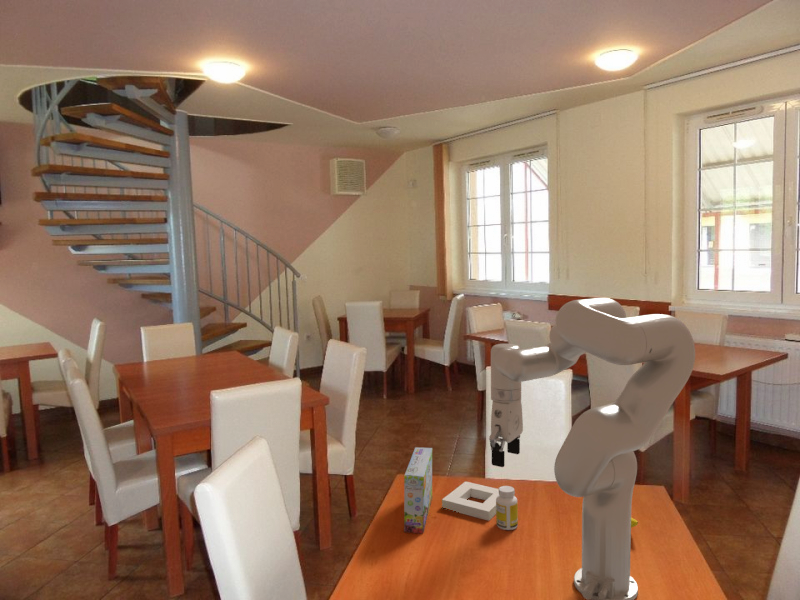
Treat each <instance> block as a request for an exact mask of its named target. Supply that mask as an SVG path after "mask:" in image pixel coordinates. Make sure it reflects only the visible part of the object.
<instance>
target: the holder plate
mask: <svg viewBox="0 0 800 600" xmlns="http://www.w3.org/2000/svg"><path fill="white" fill-rule="evenodd" d="M498 495H499V488H496V487H491V486H486V485H482V484H479V483H474V482H470V481H464V482H463V483H461V484H460V485H459V486H457V487H455V489H454V490H453V491H451V492H450V493H448V494H447V495H446V496H444V497H443V498H442V499H441V508H442V507H443V508H447V509H450V510H453V511H452V512H454V511H456V512H455V513H458V512H459V514H463V515H465V516H466V515H467V516H469V517H473V518H477V519H481V520H485V521H490V520H491V519H493V518H494V517H495V516H496V498H497V496H498ZM471 497H472V498H475V499H479V500H483V501H484V502H483V503H482V502H478V501H475V500H470V498H471ZM468 498H469V499H468ZM467 499H468V500H467ZM443 508H442V509H443ZM447 509H446V510H447ZM450 510H449V511H450Z"/></svg>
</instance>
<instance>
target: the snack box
mask: <svg viewBox="0 0 800 600" xmlns="http://www.w3.org/2000/svg"><path fill="white" fill-rule="evenodd" d="M403 478H404V479H403V480H404V481H403V482H404V483H403V486H404V487H403V488H404V490H403V491H404V494H403V495H404V498H403V499H404V501H403V503H404V505H403V506H404V507H403V509H404V510H403V511H404V512H403V513H404V514H403V515H404V517H403V518H404V519H403V521H404V522H403V523H404V524H403V527H404V528H403V529H404V531H403V532H404V533H411V532H413V534H424V532H425V528H426V525H427V524H426V523H427V521H426V520H428V517H429V513H430V508H431V504H432V502H431V501H433V447H414V450H413V452H412V455H411V458H410V461H409V462H408V465H407V468H406V471H405V473H404V475H403ZM427 516H428V517H427Z"/></svg>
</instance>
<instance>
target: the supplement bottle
mask: <svg viewBox="0 0 800 600" xmlns="http://www.w3.org/2000/svg"><path fill="white" fill-rule="evenodd" d="M498 489H499V495H498V496H497V498H496V515H495V516H496V517H495V518H496V519H495V521H496V526H497V528H499V529H500V530H504V531H512V530H516V529H517V527H518V526H519V523H518V522H519V519H518V518H519V516H518V512H519V511H518V498H517V497H516V495H515V494H516V492H515V488H514V487H513V486H509V485H502V486H500V487H498Z"/></svg>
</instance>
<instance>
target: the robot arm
mask: <svg viewBox="0 0 800 600" xmlns="http://www.w3.org/2000/svg"><path fill="white" fill-rule="evenodd" d="M548 335H549V336H548V338H549V343H547V344H545V345H541V346H534V347H526V348H522V349H521V347H520V346H519V345H518V344H514V343H497V344H495V345H493V346H491V349H490V400H491V401H492V405H491V415H490V417H491V418H490V435H489V437H488V439H489V444H490V451H491V465H492V466H494V467H495V466H496V467H499V468H504V467H505V450H504V448H505V444H506V443H507V444H506V447H507V450H506V451H507V453H509V454H514V455H519V454H520V453H521V452H520V449H521V448H520V445H521V443H520V441H521V439H520V438H521V435H522V433H523V431H524V424H523V422H524V421H523V420H524V419H523V406H522V405H523V404H522V383H523V382H528V381H533V380H537V379H538V380H539V379H544V378H549V377H553V376H556V375H558V374H559V373H561V372H564V371H565V370H567V369H569V368H571V367H572V366H575V364H577V362H578V360H579V358H580V356H583V355H584V354H586V353H588V354H590V355H592V356H594V357H597V358H599V359H601V360H603V361H605V362H607V363H611V364H613V365H616V366H617V365H618V366H630V365H637V364H641V363H642V365H641V366H640V367H639V368H638V370H636V372H634V373H633V374H632V376H631V377H630V378H629V379H628V381H627V382H626V384H625V387H624V388H623V390H622V391H621V393H620V395H619V396H618V397H617V398H616V400H615V401H613V402H610V403H608V404H604V405H601V406H596V407H593V408H590V409H587V410H586V411H584V412H583V413H581V414H580V415H579V416H578V417H577V418H576V420H575V421H574V423H573V425H572V426H571V427H570V430H569V432H568V434H567V436H566V437H565V439H564V441H563V443H562V445H561V448H560V449H559V450H558V453H557V454H556V458H555V460H554V466H553V470H554V477H555V480H556V483H557V486H558V487H559V488H560V489H561V490H562V491H563V492H564V493H565V494H566V495H567V494H568V495H569V496H571V497H574V498H582V497H583V498H582V506H581V507H582V508H581V509H582V512H581V568H579V569H578V570H577V571H576V572H575V573H574V576H573V584H574V586H575V588H576V589H577V591H578V592H579V593H581V595H582V597H583V598H584V599H586V600H635V599H636V598H637V596H638V592H639V587H638V586H639V585H638V584H637V581H636V580H635V579H634V577H632V576H631V545H632V544H631V538H632V537H631V536H632V534H631V532H632V527H631V518H632V503H633V492H634V489H635V488H634V487H635V483H636V478H637V474H638V461H637V460H638V459H637V457H636V454H635V451H637V450H640V449H642V448H643V447H645V446H647V444H648V443H649V442H650V440H651V439H652V437H653V436H654V435H655V434H654V433H656V431H657V429H658V428H659V426H660V424H661V423H662V421H663V420H664V419H665V417H666V415H667V413H668V411H670V408H671V407H672V405H673V404H674V402H675V401H676V398H678V396H679V394H680V393H681V392H682V390H683V389H684V387H685V385H686V384H687V382H688V381H689V379H690V376H691V375H692V373H693V371H694V366H695V362H696V361H695V360H696V347H695V342H694V338H693V336H692V332H691V331H690V330H689V328H688V327H687V325H686V324H685V323H684V322H683V321H682V320H681V319H679V318H677V317H675V316H672V315H669V314H663V313H661V314H660V313H651V314H643V315H637V316H636V315H635V316H628V317H627V314H626V311H625V309H624V307H623V306H622V305H621V304H620V302H618V301H616V300H614V299H612V298H609V297H593V298H584V299H572V300H571V301H568V302H566V303H564V304H563V305H562V306H561V307H560V309H559V310H558V311H557V314H556V316H555V324H554V325H552V326H551V328H550V330H549V334H548ZM499 443H500V444H499Z"/></svg>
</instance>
